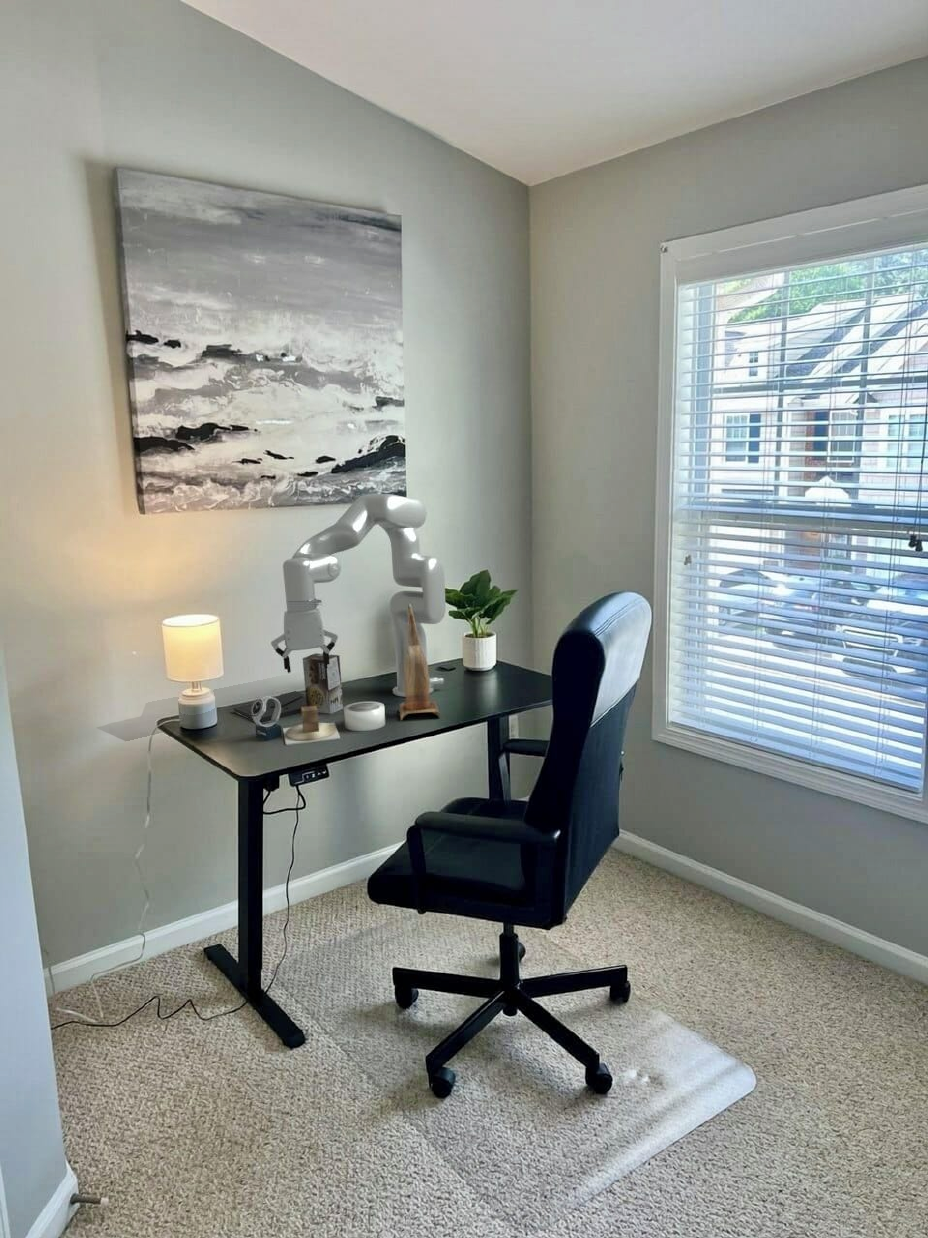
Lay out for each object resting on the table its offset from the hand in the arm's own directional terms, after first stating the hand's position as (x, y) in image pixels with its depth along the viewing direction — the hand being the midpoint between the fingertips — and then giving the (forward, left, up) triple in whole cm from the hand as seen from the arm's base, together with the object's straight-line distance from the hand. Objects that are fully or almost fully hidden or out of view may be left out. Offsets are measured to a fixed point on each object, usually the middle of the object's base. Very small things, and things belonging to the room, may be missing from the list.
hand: (307, 669), depth 235 cm
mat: (0, 0, -18) cm, 18 cm away
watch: (+11, -2, -18) cm, 21 cm away
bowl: (-15, -3, -18) cm, 23 cm away
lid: (0, 0, -17) cm, 17 cm away
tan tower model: (-31, -7, -18) cm, 36 cm away
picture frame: (+8, -27, -19) cm, 34 cm away
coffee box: (-6, -22, -18) cm, 29 cm away
